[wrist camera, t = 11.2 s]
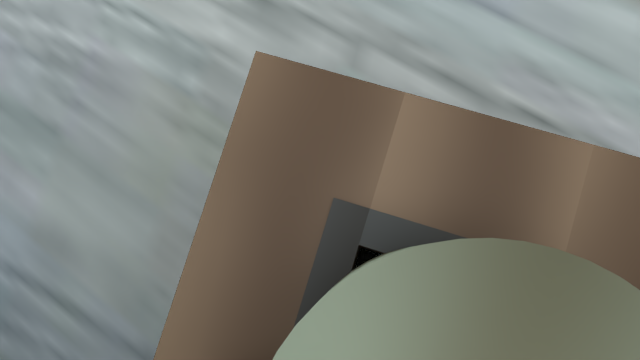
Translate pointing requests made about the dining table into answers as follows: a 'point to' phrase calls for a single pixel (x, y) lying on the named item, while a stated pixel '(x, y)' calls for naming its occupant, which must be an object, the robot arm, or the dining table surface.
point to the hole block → (374, 201)
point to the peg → (472, 307)
